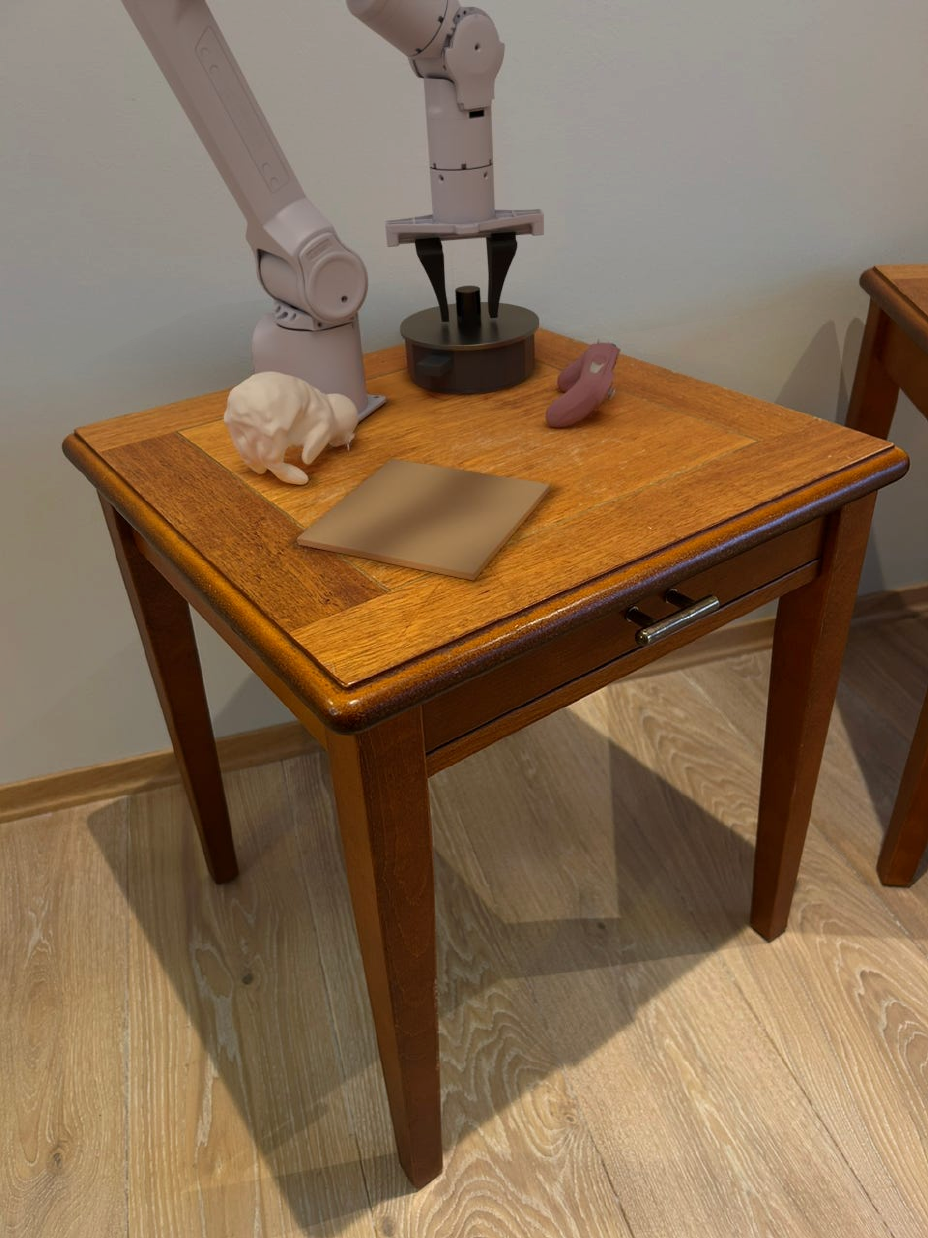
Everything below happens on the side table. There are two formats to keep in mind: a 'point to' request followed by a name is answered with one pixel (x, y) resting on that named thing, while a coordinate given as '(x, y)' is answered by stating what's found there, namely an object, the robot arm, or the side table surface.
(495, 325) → the lid
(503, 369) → the pan
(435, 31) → the robot arm
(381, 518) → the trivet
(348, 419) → the crouching animal figurine
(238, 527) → the side table surface
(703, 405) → the side table surface
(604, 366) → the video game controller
